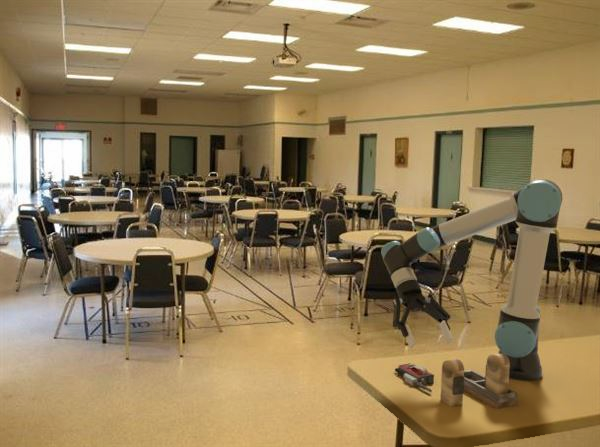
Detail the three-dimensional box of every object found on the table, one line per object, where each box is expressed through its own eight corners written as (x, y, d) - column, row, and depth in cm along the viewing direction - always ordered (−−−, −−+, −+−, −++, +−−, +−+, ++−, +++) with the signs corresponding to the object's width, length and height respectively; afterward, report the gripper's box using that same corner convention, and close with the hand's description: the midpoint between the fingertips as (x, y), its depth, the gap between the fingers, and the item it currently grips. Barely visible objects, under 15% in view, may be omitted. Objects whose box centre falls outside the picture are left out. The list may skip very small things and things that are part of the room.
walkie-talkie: (389, 374, 200) (428, 396, 182) (389, 361, 199) (428, 382, 182) (410, 370, 204) (450, 391, 186) (411, 357, 203) (451, 377, 185)
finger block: (451, 397, 180) (453, 356, 179) (464, 405, 175) (466, 363, 174) (440, 399, 179) (442, 358, 177) (452, 407, 174) (454, 364, 172)
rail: (472, 380, 195) (474, 337, 193) (517, 404, 176) (520, 357, 175) (452, 383, 191) (454, 340, 190) (495, 408, 173) (498, 360, 172)
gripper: (433, 288, 205) (459, 344, 193) (368, 293, 195) (391, 353, 183) (443, 275, 199) (470, 333, 187) (377, 280, 190) (401, 341, 178)
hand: (431, 343), depth 185 cm, fingers open, 13 cm apart
